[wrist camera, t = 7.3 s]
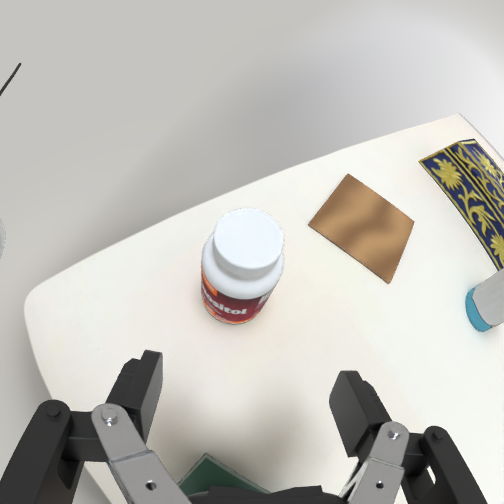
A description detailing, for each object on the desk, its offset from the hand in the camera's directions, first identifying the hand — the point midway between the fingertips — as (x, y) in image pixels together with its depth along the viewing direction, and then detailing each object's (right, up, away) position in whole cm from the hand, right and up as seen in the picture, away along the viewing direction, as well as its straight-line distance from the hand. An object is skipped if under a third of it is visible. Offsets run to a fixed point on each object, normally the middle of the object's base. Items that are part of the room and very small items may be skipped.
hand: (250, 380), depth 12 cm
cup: (+33, -3, +20) cm, 39 cm away
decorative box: (+42, +12, +30) cm, 53 cm away
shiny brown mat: (+15, +9, +24) cm, 30 cm away
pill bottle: (-2, +1, +17) cm, 17 cm away
